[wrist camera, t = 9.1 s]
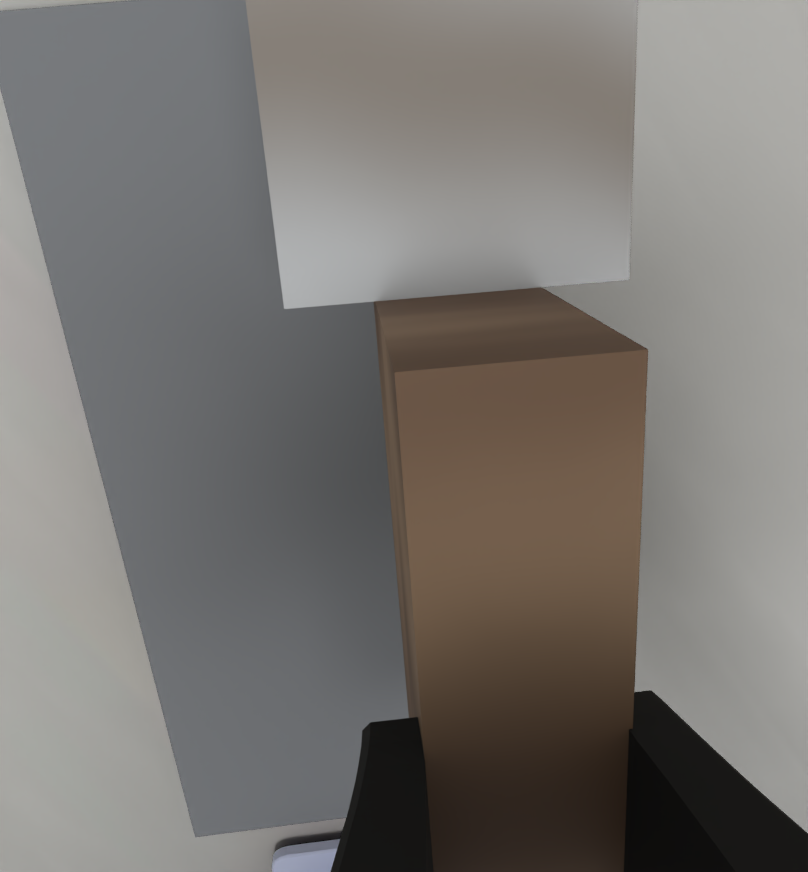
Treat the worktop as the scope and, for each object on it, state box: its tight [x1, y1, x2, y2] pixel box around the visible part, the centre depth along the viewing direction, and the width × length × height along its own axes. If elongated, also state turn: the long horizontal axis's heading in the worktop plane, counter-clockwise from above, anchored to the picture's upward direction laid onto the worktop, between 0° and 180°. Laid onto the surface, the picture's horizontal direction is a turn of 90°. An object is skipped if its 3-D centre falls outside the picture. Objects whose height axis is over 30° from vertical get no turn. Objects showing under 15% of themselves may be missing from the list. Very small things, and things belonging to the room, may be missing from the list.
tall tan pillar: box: [245, 0, 648, 872], centre depth 11 cm, size 16×5×5 cm, turn 4°
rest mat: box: [0, 0, 409, 837], centre depth 18 cm, size 21×8×1 cm, turn 4°
